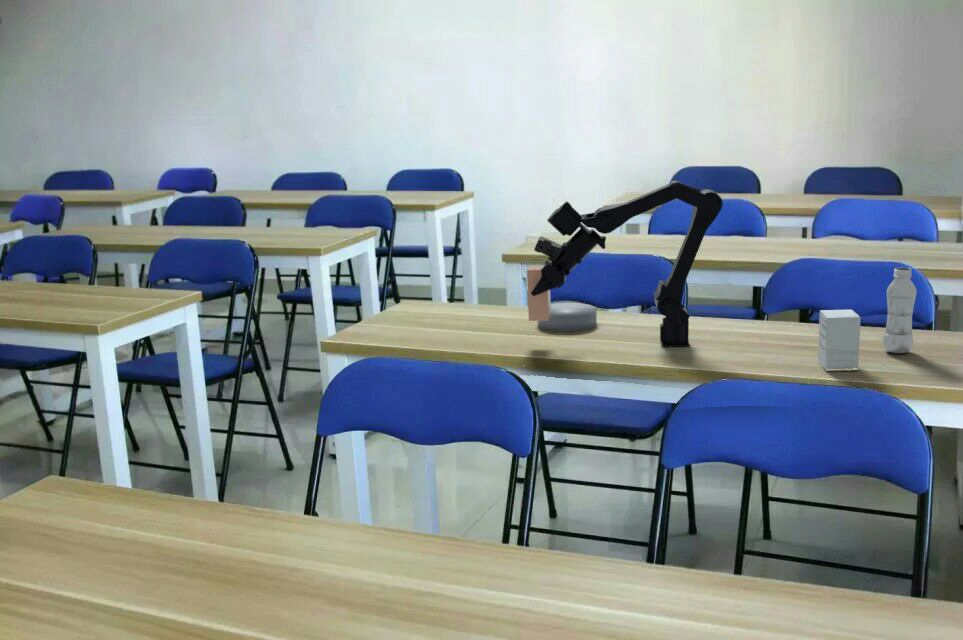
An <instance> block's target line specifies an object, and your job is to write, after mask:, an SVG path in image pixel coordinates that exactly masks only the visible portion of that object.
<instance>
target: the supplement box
mask: <svg viewBox="0 0 963 640" xmlns="http://www.w3.org/2000/svg"><path fill="white" fill-rule="evenodd" d="M861 319H862V317H861V316H860V315H859V314H858V313H856V312H855V311H854V310H853V309H825V310H824V309H821V310H819V320H818V321H819V323H818V325H819V326H818V327H819V328H818V349H817V362H818V361H819V362H820V364H821V365H822V366H823V367H824V368H826V369H846V368H847V369H853V368H858V369H859V360H860V359H859V355H860V338H861V337H860V336H861ZM820 364H819V365H820Z"/></svg>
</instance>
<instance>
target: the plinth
mask: <svg viewBox="0 0 963 640" xmlns="http://www.w3.org/2000/svg"><path fill="white" fill-rule="evenodd" d="M597 309H598V308H597V307H596V306H594V305H591V304H586V303H578V302H559V303H551V317H550V319H549V321H537V326H538V327H539V328H541V329H544V330H547V331H552V332H579V331H585V330H590V329H592V328H594V327H596V326H597V325H598V324H597V321H598V320H597V316H598V315H597V314H598V313H597V311H598V310H597Z"/></svg>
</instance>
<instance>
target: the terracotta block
mask: <svg viewBox="0 0 963 640" xmlns="http://www.w3.org/2000/svg"><path fill="white" fill-rule="evenodd" d="M544 266H545V265H529V266H528V268H527V269H526V282H527V283H526V285H527V286H526V287H527V305H528V308H527V309H528V321H531V322H535V321H536V322H538V321H549V319H550V317H551V304H552V302H551V299H552V298H551V290H548V291H546V292H543V293H541V294H538V295H536V296H533V295H532V294H531V292H532V291H533V289H534V288H535V286H536V285H537V283H538V282H539V280H540V279H541V277H542V274H541V269H542V267H544Z"/></svg>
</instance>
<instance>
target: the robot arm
mask: <svg viewBox="0 0 963 640" xmlns="http://www.w3.org/2000/svg"><path fill="white" fill-rule="evenodd" d="M674 200H678V201H681V202H683V203H685V204H688V205H690V206H693V207H692V212H691V219H690V224H689V226H688V227H689V228H688V229H687V232H686V234H685V237H684V239H683V242H682V244H681V247H680V249H679V251H678V254H677V257H676V259H675V261H674V263H673V266H672V268H671V271H670V274H669V275H668V277H667V278H666V279H665V281H664V280H662V279H659V280H658V284H657V287H656V289H655V291H654V292H653V295H654V296H653V297H654V303H655V306H656V308H657V311H658V312H659V314H661V315H662V316H664V317H662V323H660V324H659V340H660V341H659V342H660V343H661V344H662V347H690V341H689V333H690V332H689V331H690V329H689V325H690V324H689V323H690V322H689V321H690V320H689V319H690V316H691V315H690V314H689V312H688V309H687V308H686V307H685V306H684V304H683V303H682V302H683V298H684V290H685V284H686V281H687V279H688V276H689V273H690V272H691V269H692V266H693V263H694V261H695V259H696V256H697V254H698V251H699V249H700V247H701V245H702V243H703V239H704V237H705V235H706V232H707V230H708V229H709V228H710V226H711V225H712V224H713V223H714V222H715V220H716V218H717V217H718V215H719V214H720V212H721V211H722V209H723V200H722V197H721V196H720V195H719V194H718V193H717V192H716V191H714V190H713V189H709V188H707V189H699V188H696V187H692V186H690V185H687V184H684V183H682V182H681V181H680V180H679V181H678V180H672V181H670V182H669V183H668V184H665V185H663V186H661V187H658V188H656V189H654V190H651V191H649V192H646V193H643V194H642V195H639V196H637V197H635V198H632V199H630V200H628V201H626V202H620V203H614V204H610V205H606V206H602V207H598V208H597V209H596V210H595V211H594V212H590V213H589V212H588V213H585V214H580V213H579V211H577V210H576V209H575V208H574V207H573V206H572V205H571V203H570V202H569V201H568V200H566V201H564V203H563V204H561V205H560V206H559V207H558V208H556V209H555V210H554V211H553V212H552V214H550V216H549V217H548V218H547V220H546V221H547V223H549V224H550V225H551V226H552V227H553V228H554V229H555V230H556V231H557V232H558V233H559V234H561V235H562V236H563V237H565V236H568V237H570V236H571V237H570V238H569V239H568V241H566V242H564V243H562V244H559V243H557V242H555V241H553V240H551V239H549V238H546V237H544V236H539V238H538V240H537V242H536V244H535V246H534V248H533V251H534V252H536V253H538V254H539V253H540V254H543V255H545V256H547V260H546V261H545V263H544V265H543V266H544V267H542V269H541V274H542V277H541V279H540V280H539V282H538V283H537V285H536V286H535V288H534V289H533V291H532V292H531V294H532V295H533V296H536V295H538V294H541V293H543V292H546V291H548V290H550V291H551V290H552V289H555V288H561V287H562V286H563V285H565V283H566V280H567V277H568V276H569V275H570V274H571V272H572V271H573V270H574V269H575V268H576V267H577V266H578V265H579V264H581V263H582V261H583V260H584V259H585V258H586V257H587V255H589V253H591V251H592V250H593V249H594V248H595V247H597V245H598V246H599V247H600V248H601V249H602V250H605V249H606V240H607V236H606V235H605V234H610V233H612V232H613V231H615V230H617V229H618V228H620V227H621V226H623V225H624V224H625V223H626V222H627V221H629V220H631V219H632V218H634V217H636V216H638V215H639V216H640V215H641V214H643V213H646V212H648V211H651V210H653V209H655V208H657V207H660V206H662V205H664V204H667V203H669V202H671V201H674ZM579 228H580V229H579ZM589 228H591V229H589ZM578 229H579V230H578ZM577 230H578V231H577ZM574 233H575V234H574ZM599 233H600V234H603V236H602V235H600V234H599ZM566 276H567V277H566Z"/></svg>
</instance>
